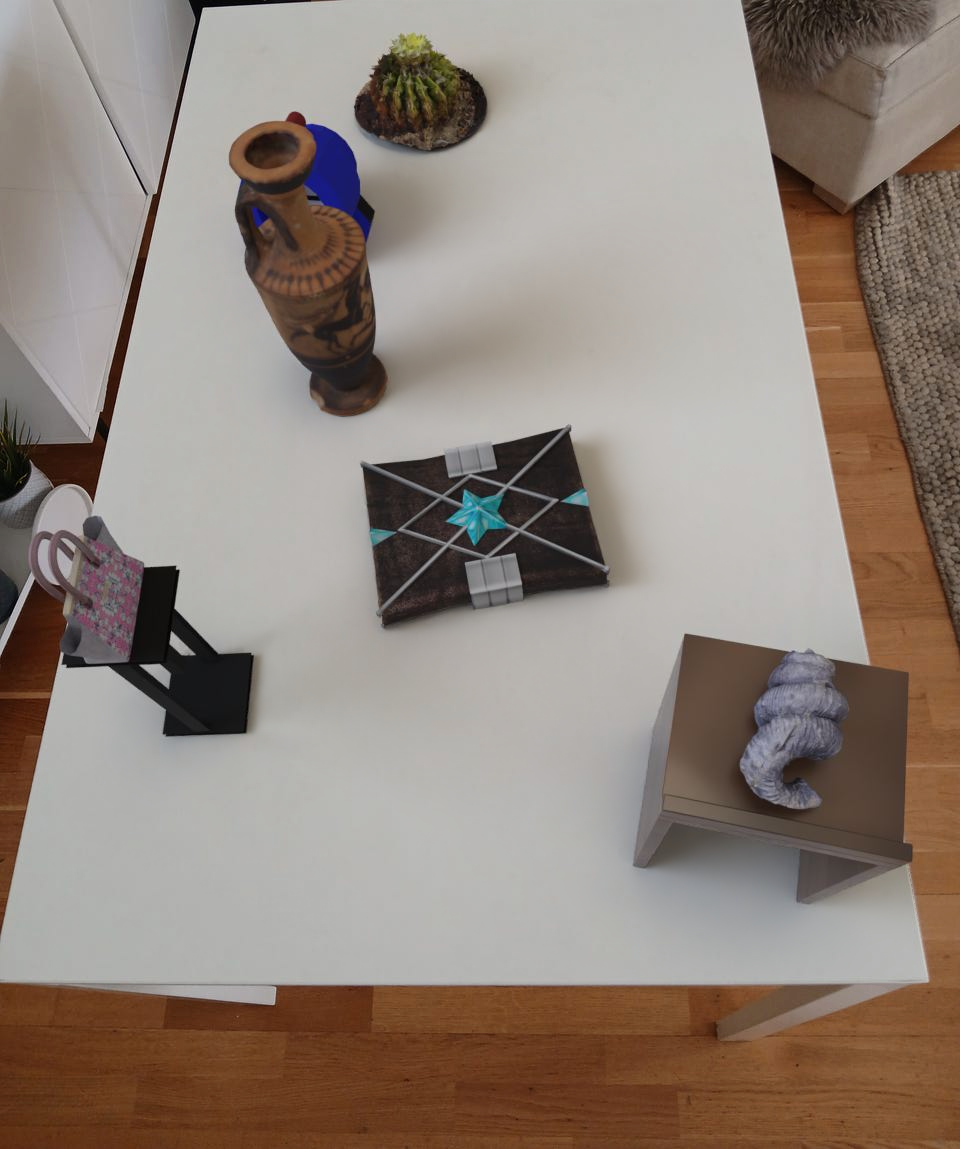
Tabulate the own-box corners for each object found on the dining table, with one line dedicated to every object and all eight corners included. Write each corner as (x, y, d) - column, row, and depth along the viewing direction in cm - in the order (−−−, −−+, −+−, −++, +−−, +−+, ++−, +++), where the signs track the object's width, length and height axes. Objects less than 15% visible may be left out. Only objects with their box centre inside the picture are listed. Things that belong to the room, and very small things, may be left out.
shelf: (819, 758, 77) (918, 663, 56) (808, 904, 72) (913, 862, 51) (653, 726, 79) (687, 623, 58) (632, 866, 74) (661, 810, 53)
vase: (407, 347, 99) (350, 101, 72) (390, 429, 95) (324, 200, 68) (311, 342, 101) (220, 99, 74) (290, 423, 96) (186, 196, 69)
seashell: (778, 821, 55) (798, 671, 59) (854, 820, 51) (871, 658, 55) (716, 790, 53) (742, 636, 57) (791, 786, 49) (813, 620, 53)
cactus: (508, 85, 116) (504, 10, 108) (454, 168, 111) (445, 96, 102) (390, 56, 121) (377, -19, 112) (332, 135, 115) (313, 63, 106)
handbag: (244, 748, 81) (88, 619, 54) (163, 751, 82) (-32, 625, 55) (255, 639, 86) (115, 470, 59) (178, 642, 86) (4, 476, 59)
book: (383, 631, 85) (373, 610, 81) (363, 480, 92) (353, 453, 88) (610, 588, 85) (613, 565, 81) (572, 441, 93) (573, 412, 88)
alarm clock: (256, 267, 106) (212, 159, 93) (282, 191, 111) (244, 78, 98) (357, 274, 105) (327, 165, 91) (379, 196, 110) (353, 82, 96)
